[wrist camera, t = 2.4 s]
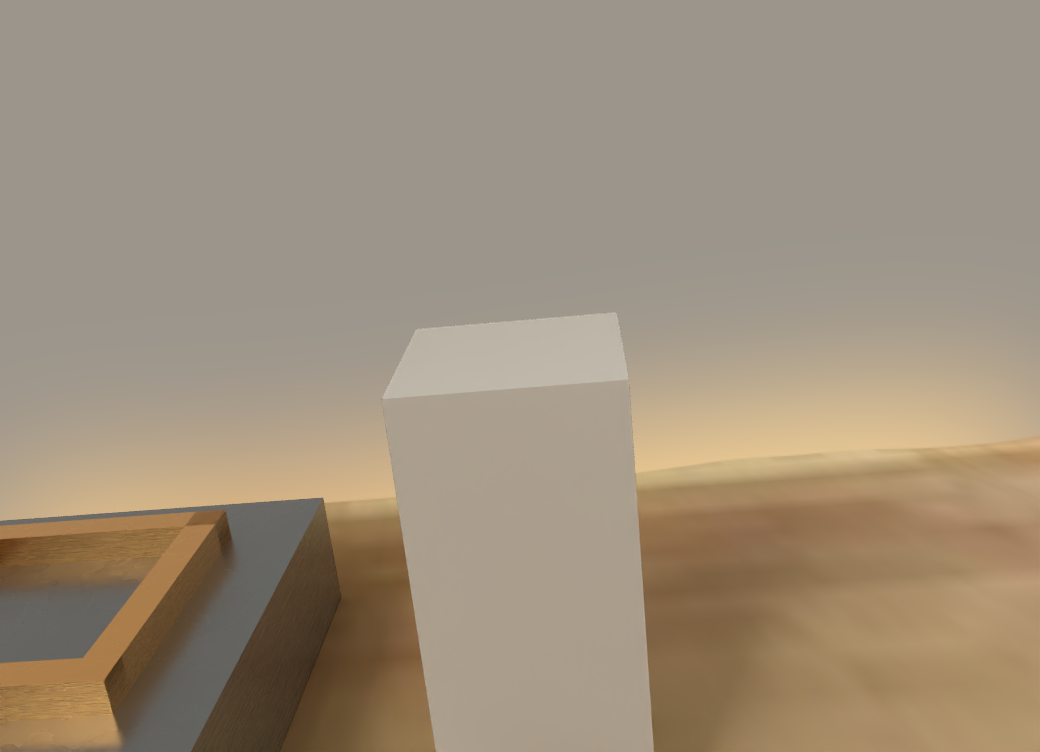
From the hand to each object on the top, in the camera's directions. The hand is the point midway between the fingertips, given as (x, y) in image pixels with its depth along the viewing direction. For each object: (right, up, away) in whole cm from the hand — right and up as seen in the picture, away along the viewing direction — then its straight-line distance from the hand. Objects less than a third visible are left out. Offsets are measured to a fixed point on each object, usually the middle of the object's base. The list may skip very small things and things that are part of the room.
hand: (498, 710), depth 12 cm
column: (+1, -7, +14) cm, 16 cm away
